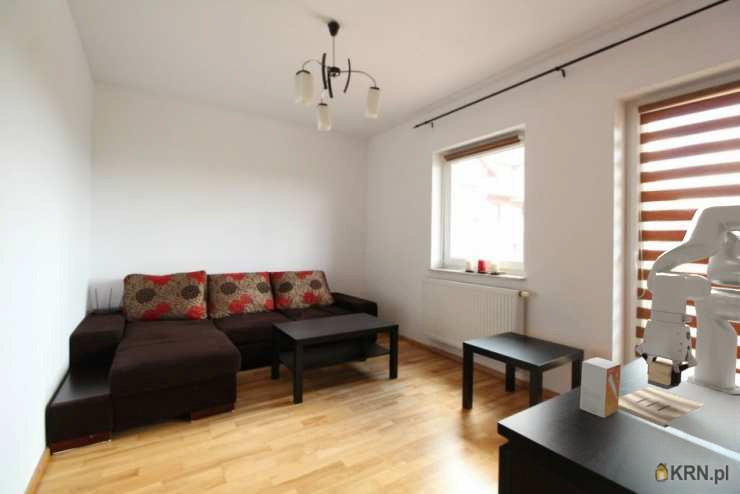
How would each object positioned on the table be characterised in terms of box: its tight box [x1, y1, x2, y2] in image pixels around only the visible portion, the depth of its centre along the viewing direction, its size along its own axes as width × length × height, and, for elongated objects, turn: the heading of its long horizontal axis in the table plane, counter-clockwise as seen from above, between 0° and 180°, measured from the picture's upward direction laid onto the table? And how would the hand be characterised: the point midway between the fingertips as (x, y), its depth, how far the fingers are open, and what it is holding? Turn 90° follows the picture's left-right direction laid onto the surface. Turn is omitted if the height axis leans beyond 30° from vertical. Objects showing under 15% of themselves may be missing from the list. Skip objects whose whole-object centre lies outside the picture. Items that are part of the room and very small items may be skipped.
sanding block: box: [647, 359, 680, 391], centre depth 100 cm, size 7×4×6 cm, turn 119°
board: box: [618, 386, 705, 428], centre depth 99 cm, size 23×13×1 cm, turn 119°
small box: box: [579, 356, 622, 419], centre depth 96 cm, size 8×6×13 cm
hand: (663, 381), depth 100 cm, fingers closed on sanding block, 4 cm apart
